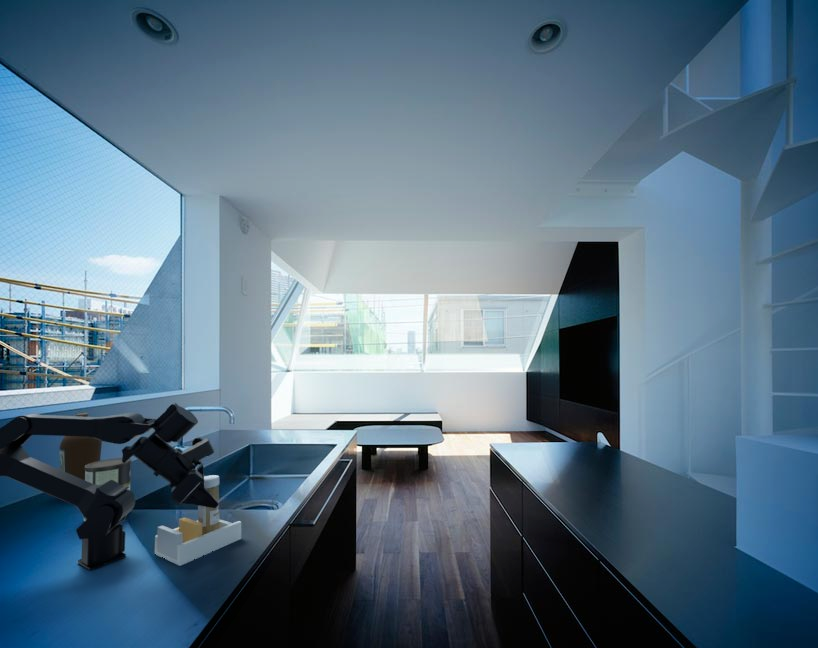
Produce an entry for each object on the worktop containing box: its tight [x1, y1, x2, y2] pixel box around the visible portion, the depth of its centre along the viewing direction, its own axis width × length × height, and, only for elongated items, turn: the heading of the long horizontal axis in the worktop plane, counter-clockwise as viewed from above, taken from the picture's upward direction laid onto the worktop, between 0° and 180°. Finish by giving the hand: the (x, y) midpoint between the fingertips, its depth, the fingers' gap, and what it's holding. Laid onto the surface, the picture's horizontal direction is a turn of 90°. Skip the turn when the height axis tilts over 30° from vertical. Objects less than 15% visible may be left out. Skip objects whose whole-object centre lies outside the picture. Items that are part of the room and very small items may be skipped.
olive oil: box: [59, 412, 103, 480], centre depth 132 cm, size 11×11×25 cm
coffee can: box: [83, 457, 132, 522], centre depth 112 cm, size 10×10×14 cm
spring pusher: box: [178, 516, 202, 543], centre depth 90 cm, size 1×7×5 cm, turn 57°
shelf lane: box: [154, 518, 242, 566], centre depth 91 cm, size 14×10×6 cm
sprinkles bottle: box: [197, 474, 220, 535], centre depth 94 cm, size 5×5×14 cm
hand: (216, 499), depth 94 cm, fingers open, 9 cm apart
